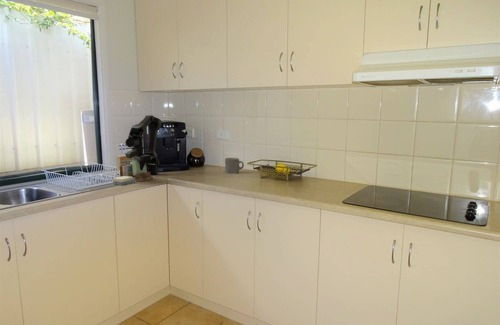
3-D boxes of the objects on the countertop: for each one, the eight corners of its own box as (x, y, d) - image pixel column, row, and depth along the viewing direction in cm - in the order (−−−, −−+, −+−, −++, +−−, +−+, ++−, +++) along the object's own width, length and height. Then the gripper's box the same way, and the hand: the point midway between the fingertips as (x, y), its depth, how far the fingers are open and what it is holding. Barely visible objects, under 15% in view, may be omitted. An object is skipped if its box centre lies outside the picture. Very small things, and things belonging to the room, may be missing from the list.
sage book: (142, 173, 224) (141, 158, 222) (146, 174, 221) (145, 158, 220) (132, 175, 218) (132, 159, 217) (136, 175, 216) (135, 160, 214)
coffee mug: (223, 173, 243) (223, 159, 241) (227, 170, 253) (226, 157, 251) (242, 173, 241) (242, 159, 239) (244, 171, 250) (244, 158, 249)
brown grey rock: (134, 175, 233) (134, 163, 232) (152, 179, 220) (152, 166, 219) (120, 177, 224) (119, 165, 223) (138, 181, 212) (137, 168, 211)
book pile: (127, 180, 215) (127, 175, 214) (135, 182, 209) (135, 177, 209) (111, 183, 206) (111, 178, 206) (119, 185, 201) (119, 179, 200)
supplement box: (120, 175, 234) (119, 156, 232) (116, 174, 237) (115, 155, 235) (131, 173, 240) (130, 155, 238) (127, 172, 243) (126, 154, 241)
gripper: (118, 145, 216) (119, 170, 219) (135, 147, 205) (136, 173, 207) (134, 144, 225) (135, 167, 227) (151, 146, 214) (152, 170, 216)
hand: (139, 170), depth 219 cm, fingers closed on sage book, 4 cm apart
